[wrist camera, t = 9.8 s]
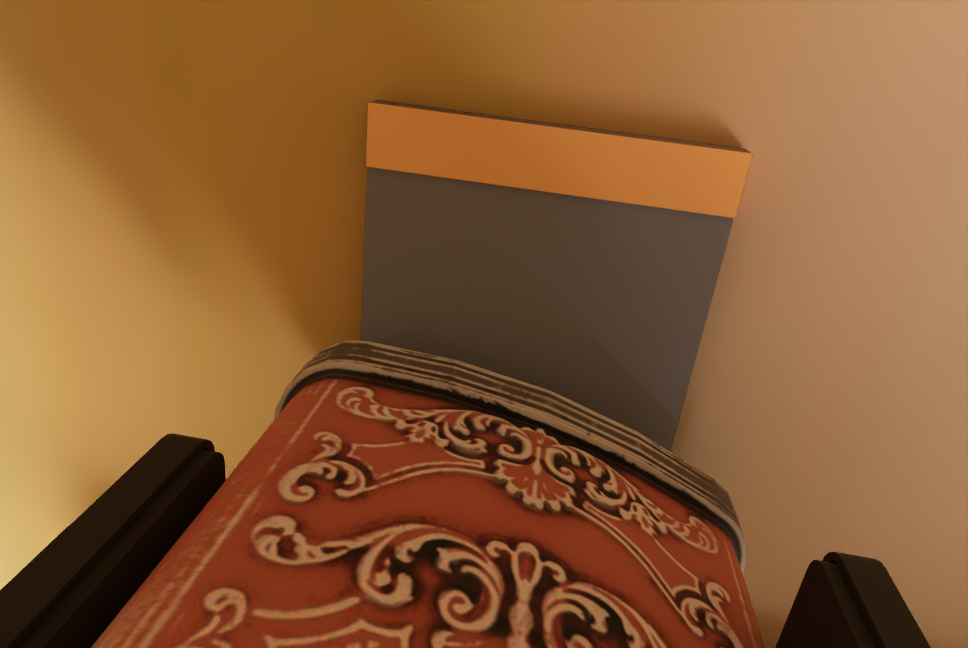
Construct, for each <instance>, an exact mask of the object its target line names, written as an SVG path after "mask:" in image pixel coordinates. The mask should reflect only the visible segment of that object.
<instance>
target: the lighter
mask: <svg viewBox="0 0 968 648" xmlns="http://www.w3.org/2000/svg"><path fill="white" fill-rule="evenodd" d="M746 553H747V546H746V543H745V540H744V537H743V534H742V531H741V527H740V524H739V521H738V518H737V515H736V512H735V510H734V507H733V505H732V502H731V500H730V497H729V495H728V492H727V491H726V490H724V489H723V488H722V487H721V486H720V485H719V484H718V483H717V482H716V481H715V480H714V479H713V478H711V477H710V476H708V475H707V474H705V473H703V472H702V471H700V470H698V469H697V468H695V467H694V466H692V465H690V464H689V463H687V462H686V461H684V460H682V459H681V458H679V457H677V456H676V455H674V454H673V453H671V452H669V451H668V450H666V449H664V448H663V447H661V446H660V445H658V444H656V443H655V442H653V441H651V440H650V439H648V438H647V437H645V436H643V435H642V434H640V433H638V432H637V431H635V430H632V429H630V428H628V427H626V426H624V425H622V424H620V423H618V422H615V421H613V420H611V419H609V418H607V417H605V416H603V415H601V414H599V413H596V412H594V411H592V410H590V409H588V408H586V407H584V406H582V405H580V404H577V403H575V402H573V401H571V400H569V399H567V398H565V397H563V396H560V395H558V394H556V393H554V392H552V391H550V390H547V389H544V388H541V387H538V386H534V385H531V384H528V383H525V382H522V381H519V380H516V379H513V378H510V377H507V376H504V375H501V374H498V373H495V372H492V371H489V370H485V369H482V368H479V367H476V366H473V365H470V364H467V363H464V362H461V361H458V360H454V359H449V358H444V357H439V356H435V355H430V354H425V353H421V352H416V351H411V350H407V349H402V348H397V347H392V346H388V345H383V344H378V343H374V342H369V341H342V342H340V343H337V344H334V345H332V346H329V347H326V348H323V349H322V350H321V351H320V352H319V353H318V354H317V355H316V356H314V357H313V358H312V359H311V360H310V361H309V362H308V363H307V364H306V365H305V366H304V367H303V368H302V370H301V371H300V372H299V373H298V374H297V376H296V377H295V378H294V379H293V380H292V381H291V383H290V384H289V385H288V386H287V387H286V389H285V391H284V393H283V395H282V397H281V399H280V401H279V403H278V405H277V407H276V414H275V420H274V421H273V423H272V424H271V425H270V426H269V428H268V429H267V430H266V431H265V433H264V434H263V435H262V436H261V437H260V439H259V440H258V441H257V442H256V444H255V445H254V446H253V447H252V449H251V450H250V451H249V452H248V454H247V455H246V456H245V457H244V459H243V460H242V461H241V462H240V463H239V465H238V466H237V467H236V468H235V470H234V471H233V472H232V473H231V475H230V476H229V477H228V478H227V480H226V481H225V482H224V483H223V485H222V486H221V487H220V488H219V490H218V491H217V492H216V493H215V494H214V496H213V497H212V498H211V499H210V501H209V502H208V503H207V504H206V506H205V507H204V508H203V509H202V511H201V512H200V513H199V514H198V516H197V517H196V518H195V519H194V520H193V522H192V523H191V524H190V525H189V527H188V528H187V529H186V530H185V532H184V533H183V534H182V535H181V537H180V538H179V539H178V540H177V542H176V543H175V544H174V545H173V547H172V548H171V549H170V550H169V551H168V553H167V554H166V555H165V556H164V558H163V559H162V560H161V561H160V563H159V564H158V565H157V566H156V568H155V569H154V570H153V571H152V573H151V574H150V575H149V576H148V578H147V579H146V580H145V581H144V582H143V584H142V585H141V586H140V587H139V589H138V590H137V591H136V592H135V594H134V595H133V596H132V597H131V599H130V600H129V601H128V602H127V604H126V605H125V606H124V607H123V608H122V610H121V611H120V612H119V613H118V615H117V616H116V617H115V618H114V620H113V621H112V622H111V623H110V625H109V626H108V627H107V628H106V630H105V631H104V632H103V633H102V635H101V636H100V637H99V638H98V639H97V641H96V642H95V643H94V644H93V646H92V647H91V648H764V644H763V641H762V638H761V634H760V631H759V628H758V624H757V621H756V618H755V614H754V611H753V608H752V604H751V601H750V598H749V594H748V591H747V588H746V584H745V581H744V578H743V573H744V571H745V569H746Z"/></svg>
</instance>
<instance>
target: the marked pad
mask: <svg viewBox="0 0 968 648" xmlns="http://www.w3.org/2000/svg"><path fill="white" fill-rule="evenodd" d="M752 155H753V154H752V153H750V152H749V151H747V150H746V149H741V148H734V147H726V146H719V145H711V144H703V143H696V142H688V141H681V140H673V139H666V138H658V137H651V136H643V135H635V134H628V133H620V132H613V131H605V130H598V129H590V128H583V127H575V126H567V125H560V124H552V123H545V122H537V121H530V120H522V119H514V118H507V117H499V116H492V115H484V114H477V113H469V112H462V111H454V110H446V109H439V108H431V107H424V106H416V105H409V104H401V103H394V102H386V101H378V100H376V101H373V102H370V103H368V119H367V146H366V166H367V191H366V217H365V243H364V269H363V295H362V321H361V341H369V342H374V343H378V344H383V345H388V346H392V347H397V348H402V349H407V350H411V351H416V352H421V353H425V354H430V355H435V356H439V357H444V358H449V359H454V360H458V361H461V362H464V363H467V364H470V365H473V366H476V367H479V368H482V369H485V370H489V371H492V372H495V373H498V374H501V375H504V376H507V377H510V378H513V379H516V380H519V381H522V382H525V383H528V384H531V385H534V386H538V387H541V388H544V389H547V390H550V391H552V392H554V393H556V394H558V395H560V396H563V397H565V398H567V399H569V400H571V401H573V402H575V403H577V404H580V405H582V406H584V407H586V408H588V409H590V410H592V411H594V412H596V413H599V414H601V415H603V416H605V417H607V418H609V419H611V420H613V421H615V422H618V423H620V424H622V425H624V426H626V427H628V428H630V429H632V430H635V431H637V432H638V433H640V434H642V435H643V436H645V437H647V438H648V439H650V440H651V441H653V442H655V443H656V444H658V445H660V446H661V447H663V448H664V449H666V450H668V451H669V452H670V451H671V447H672V443H673V439H674V436H675V432H676V428H677V425H678V421H679V417H680V414H681V410H682V406H683V403H684V399H685V395H686V391H687V388H688V384H689V380H690V377H691V373H692V369H693V366H694V362H695V358H696V355H697V351H698V347H699V343H700V340H701V336H702V332H703V329H704V325H705V321H706V318H707V314H708V310H709V307H710V303H711V299H712V296H713V292H714V288H715V284H716V281H717V277H718V273H719V270H720V266H721V262H722V259H723V255H724V251H725V248H726V244H727V240H728V236H729V233H730V229H731V225H732V222H733V218H735V217H736V213H737V210H738V206H739V202H740V199H741V195H742V191H743V188H744V184H745V180H746V177H747V173H748V169H749V166H750V162H751V158H752Z"/></svg>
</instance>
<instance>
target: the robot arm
mask: <svg viewBox="0 0 968 648" xmlns="http://www.w3.org/2000/svg"><path fill="white" fill-rule="evenodd" d="M225 481H226V478H225V461H224V457H223V455H222V454H221V453H219V452H215V449H214V445H213V444H212V442H211V441H209V440H206V439H200V438H195V437H189V436H183V435H178V434H167V435H166V436H164V437H163V438H161V439H160V440H159V441H158V442H157V443H156V444H155V445H154V446H153V447H152V448H151V449H150V450H149V451H148V452H147V453H146V454H145V455H144V456H143V457H141V458H140V459H139V460H138V461H137V462H136V463H135V464H134V465H133V466H132V467H131V468H130V469H129V470H128V471H127V472H126V473H125V474H124V475H123V476H121V477H120V478H119V479H118V480H117V481H116V482H115V483H114V484H113V485H112V486H111V487H110V488H109V489H108V490H107V491H106V492H105V493H104V494H103V495H101V496H100V497H99V498H98V499H97V500H96V501H95V502H94V503H93V504H92V505H91V506H90V507H89V508H88V509H87V510H86V511H85V512H84V513H83V514H81V515H80V516H79V517H78V518H77V519H76V520H75V521H74V522H73V523H72V524H71V525H69V526H68V527H67V528H66V529H65V530H64V531H63V532H61V533H60V534H59V535H58V536H57V537H56V538H55V539H54V540H53V541H52V542H51V543H50V544H49V545H48V546H47V547H46V548H45V549H44V550H42V551H41V552H40V553H39V554H38V555H37V556H36V557H35V558H34V559H33V560H32V561H31V562H30V563H29V564H28V565H27V566H26V567H25V568H23V569H22V570H21V571H20V572H19V573H18V574H17V575H16V576H15V577H14V578H13V579H12V580H11V581H10V582H9V583H8V584H7V585H6V586H4V587H3V588H2V589H1V590H0V648H91V647H92V646H93V644H94V643H95V642H96V641H97V639H98V638H99V637H100V636H101V635H102V633H103V632H104V631H105V630H106V628H107V627H108V626H109V625H110V623H111V622H112V621H113V620H114V618H115V617H116V616H117V615H118V613H119V612H120V611H121V610H122V608H123V607H124V606H125V605H126V604H127V602H128V601H129V600H130V599H131V597H132V596H133V595H134V594H135V592H136V591H137V590H138V589H139V587H140V586H141V585H142V584H143V582H144V581H145V580H146V579H147V578H148V576H149V575H150V574H151V573H152V571H153V570H154V569H155V568H156V566H157V565H158V564H159V563H160V561H161V560H162V559H163V558H164V556H165V555H166V554H167V553H168V551H169V550H170V549H171V548H172V547H173V545H174V544H175V543H176V542H177V540H178V539H179V538H180V537H181V535H182V534H183V533H184V532H185V530H186V529H187V528H188V527H189V525H190V524H191V523H192V522H193V520H194V519H195V518H196V517H197V516H198V514H199V513H200V512H201V511H202V509H203V508H204V507H205V506H206V504H207V503H208V502H209V501H210V499H211V498H212V497H213V496H214V494H215V493H216V492H217V491H218V490H219V488H220V487H221V486H222V485H223V483H224V482H225ZM776 648H931V647H930V646H929V644H928V642H927V640H926V639H925V637H924V635H923V633H922V632H921V630H920V628H919V626H918V625H917V623H916V621H915V619H914V617H913V616H912V614H911V612H910V610H909V609H908V607H907V605H906V603H905V602H904V600H903V598H902V596H901V595H900V593H899V591H898V589H897V587H896V586H895V584H894V582H893V580H892V579H891V577H890V575H889V573H888V572H887V570H886V568H885V567H884V566H883V564H882V563H881V562H880V561H878V560H876V559H871V558H866V557H860V556H855V555H849V554H843V553H838V552H829V553H828V554H827V555H825V557H824V559H823V560H822V561H819V560H813V561H812V562H811V563H810V565H809V567H808V569H807V571H806V574H805V576H804V578H803V581H802V583H801V586H800V588H799V591H798V593H797V596H796V598H795V601H794V603H793V606H792V608H791V611H790V613H789V615H788V618H787V620H786V623H785V625H784V628H783V630H782V633H781V635H780V638H779V640H778V643H777V645H776Z"/></svg>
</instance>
